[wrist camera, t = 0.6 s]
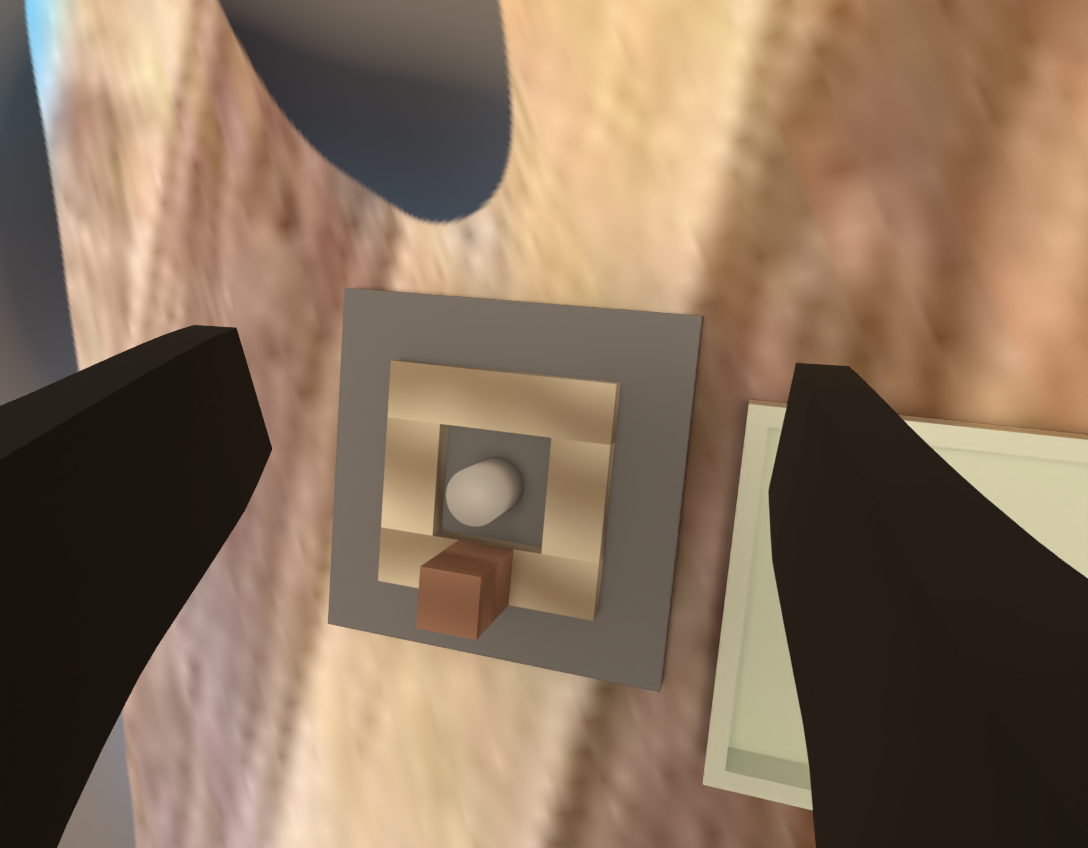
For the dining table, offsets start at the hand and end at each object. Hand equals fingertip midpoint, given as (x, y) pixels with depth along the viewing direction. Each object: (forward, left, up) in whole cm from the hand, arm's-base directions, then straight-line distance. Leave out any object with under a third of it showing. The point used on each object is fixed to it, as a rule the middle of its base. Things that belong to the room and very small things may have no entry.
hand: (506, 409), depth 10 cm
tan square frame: (-6, +7, -22) cm, 23 cm away
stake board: (-6, +7, -23) cm, 24 cm away
